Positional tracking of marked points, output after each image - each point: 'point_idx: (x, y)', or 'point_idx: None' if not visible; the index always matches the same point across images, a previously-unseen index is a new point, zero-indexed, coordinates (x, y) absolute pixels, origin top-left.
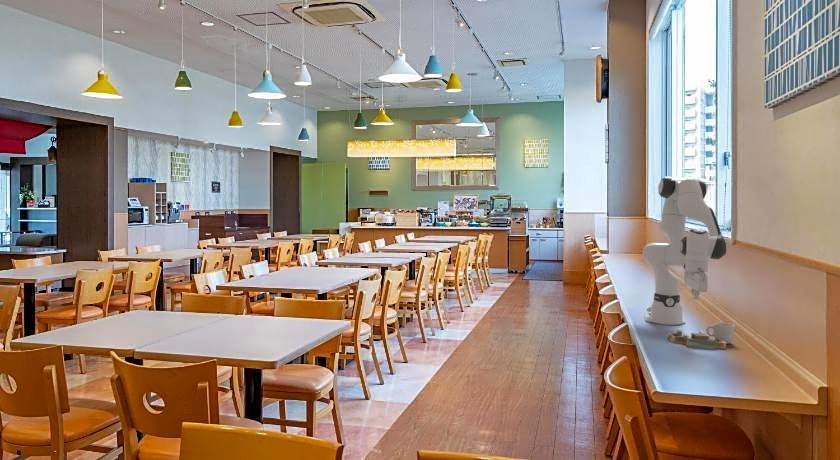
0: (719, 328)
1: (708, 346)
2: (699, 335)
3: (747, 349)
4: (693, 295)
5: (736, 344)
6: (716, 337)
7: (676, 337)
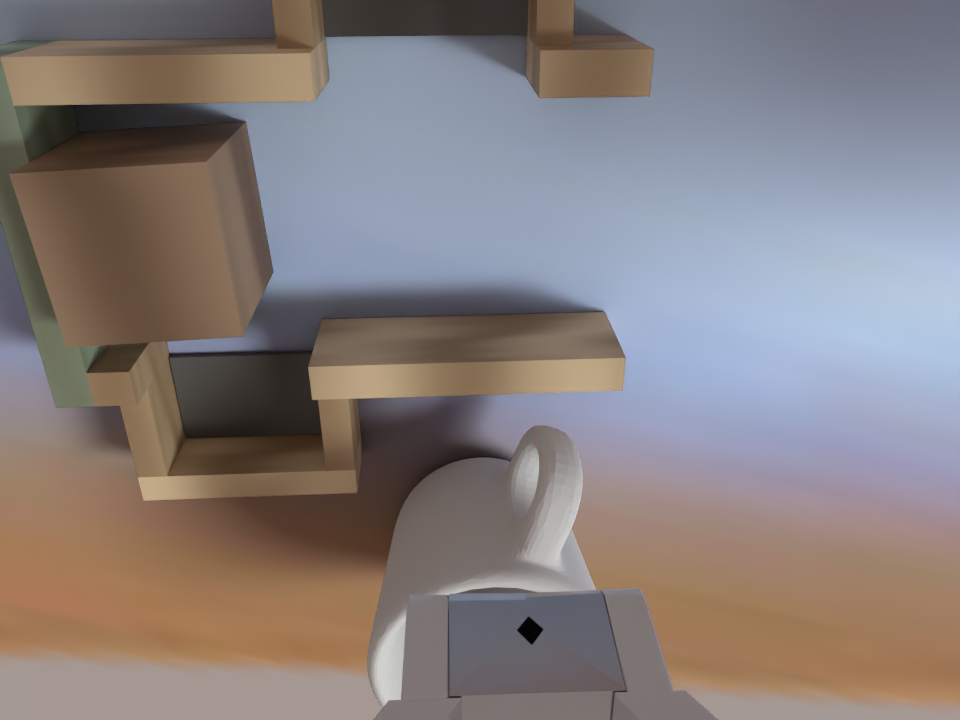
0: (405, 575)
1: None
2: (36, 234)
3: (232, 627)
4: (480, 685)
5: None
6: (454, 481)
7: None
